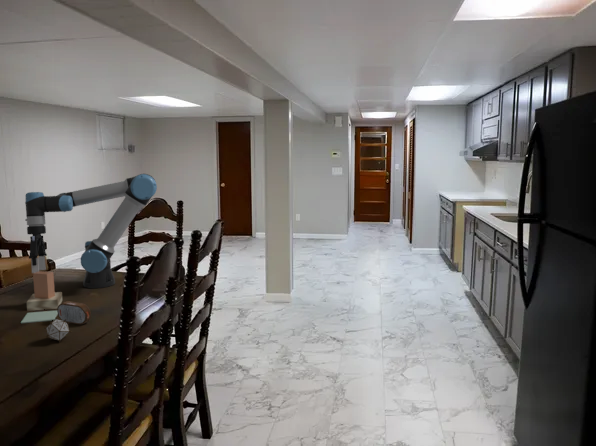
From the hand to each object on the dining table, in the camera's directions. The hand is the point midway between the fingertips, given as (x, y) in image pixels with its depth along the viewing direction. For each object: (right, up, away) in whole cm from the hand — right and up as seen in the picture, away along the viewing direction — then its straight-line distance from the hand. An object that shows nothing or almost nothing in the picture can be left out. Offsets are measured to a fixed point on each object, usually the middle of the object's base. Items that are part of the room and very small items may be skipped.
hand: (39, 271), depth 220 cm
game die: (+33, -21, -47) cm, 61 cm away
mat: (+14, -17, -23) cm, 32 cm away
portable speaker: (+30, -18, -29) cm, 46 cm away
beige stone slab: (+8, -14, -9) cm, 18 cm away
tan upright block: (+8, -10, -9) cm, 16 cm away
